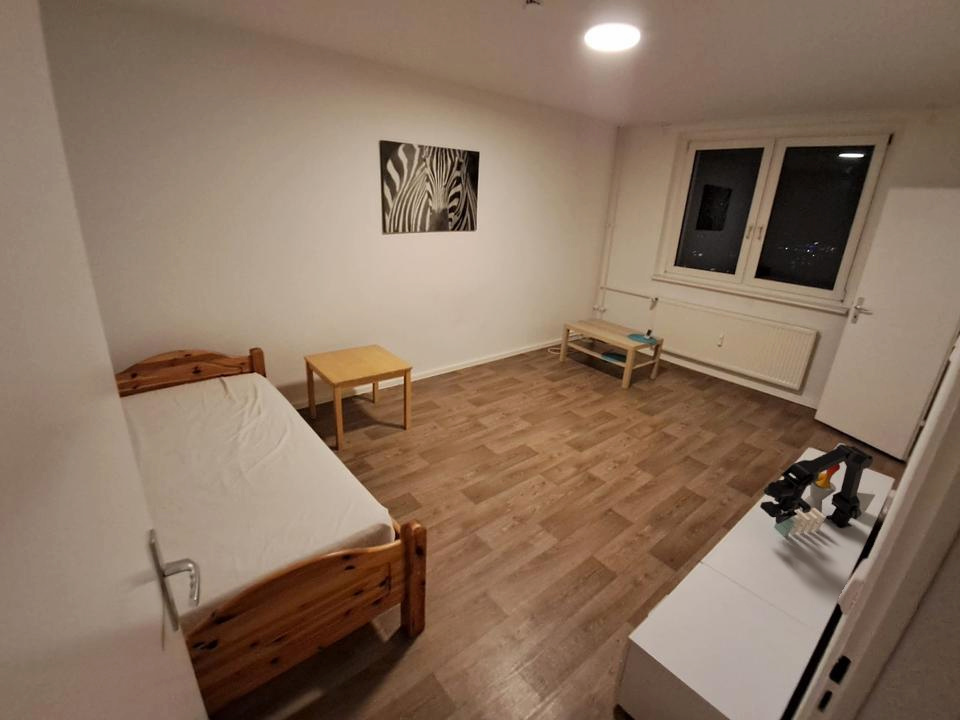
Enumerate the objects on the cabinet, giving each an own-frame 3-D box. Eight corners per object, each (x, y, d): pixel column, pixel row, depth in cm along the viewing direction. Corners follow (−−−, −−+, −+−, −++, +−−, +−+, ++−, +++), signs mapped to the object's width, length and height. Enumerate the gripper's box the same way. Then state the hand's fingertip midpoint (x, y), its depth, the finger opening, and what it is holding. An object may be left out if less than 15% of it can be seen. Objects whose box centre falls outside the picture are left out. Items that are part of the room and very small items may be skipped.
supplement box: (851, 505, 196) (864, 483, 190) (862, 517, 189) (876, 494, 183) (834, 502, 196) (846, 480, 191) (844, 514, 189) (858, 492, 184)
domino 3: (792, 524, 181) (799, 510, 178) (802, 533, 177) (810, 519, 173) (788, 524, 181) (796, 510, 177) (799, 534, 176) (807, 519, 173)
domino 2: (784, 525, 180) (791, 511, 177) (794, 535, 176) (802, 520, 172) (781, 526, 180) (788, 511, 176) (791, 535, 175) (799, 520, 172)
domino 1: (783, 537, 174) (791, 522, 171) (773, 527, 179) (781, 512, 175) (787, 536, 175) (794, 521, 171) (776, 526, 179) (784, 512, 176)
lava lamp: (827, 519, 185) (863, 452, 171) (805, 517, 185) (840, 450, 171) (812, 504, 194) (846, 438, 179) (792, 502, 194) (824, 437, 179)
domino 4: (799, 523, 182) (807, 508, 179) (810, 532, 178) (818, 518, 174) (796, 523, 182) (804, 509, 178) (807, 533, 177) (815, 518, 174)
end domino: (807, 522, 183) (814, 507, 180) (817, 531, 179) (826, 516, 175) (804, 522, 183) (811, 508, 179) (814, 531, 178) (822, 517, 175)
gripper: (793, 476, 176) (779, 505, 183) (756, 480, 171) (742, 510, 178) (819, 495, 166) (802, 526, 173) (780, 501, 162) (764, 531, 168)
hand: (777, 522), depth 173 cm, fingers closed
